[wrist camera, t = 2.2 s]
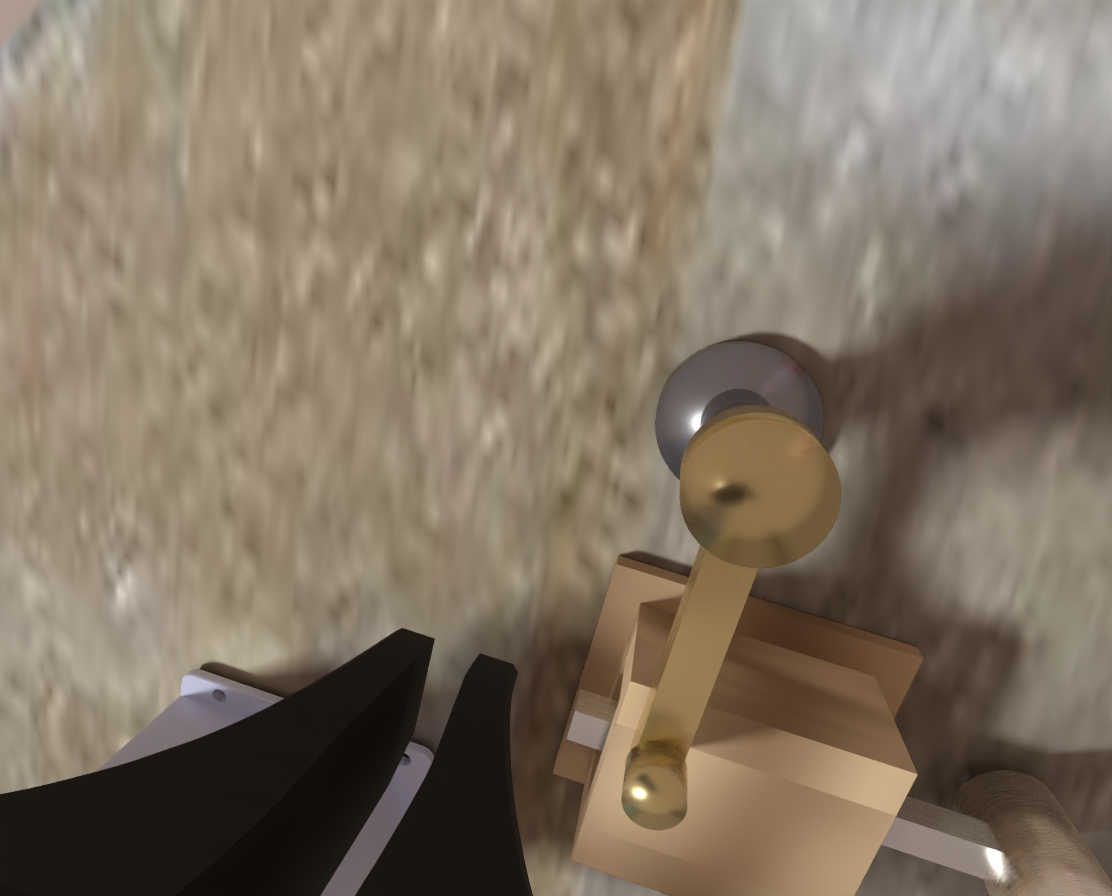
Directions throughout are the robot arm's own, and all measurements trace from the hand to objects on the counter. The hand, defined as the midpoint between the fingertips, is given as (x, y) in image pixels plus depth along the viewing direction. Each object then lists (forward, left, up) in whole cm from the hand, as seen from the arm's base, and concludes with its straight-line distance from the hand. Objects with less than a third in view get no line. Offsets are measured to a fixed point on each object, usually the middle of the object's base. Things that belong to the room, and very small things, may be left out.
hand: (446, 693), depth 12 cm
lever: (+5, +1, -5) cm, 7 cm away
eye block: (+7, -5, -9) cm, 13 cm away
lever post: (+5, +4, -9) cm, 11 cm away
